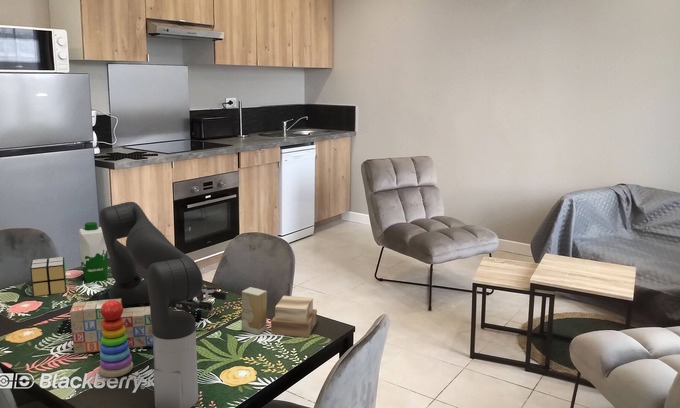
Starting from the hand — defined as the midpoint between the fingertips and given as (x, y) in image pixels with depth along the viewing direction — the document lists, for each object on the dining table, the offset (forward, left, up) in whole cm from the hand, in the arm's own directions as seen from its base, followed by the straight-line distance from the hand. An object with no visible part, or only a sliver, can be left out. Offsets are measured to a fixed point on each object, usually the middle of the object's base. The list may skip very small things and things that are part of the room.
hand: (219, 301), depth 170 cm
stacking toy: (-31, +15, -8) cm, 36 cm away
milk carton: (+29, +59, -8) cm, 66 cm away
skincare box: (-1, -11, -8) cm, 14 cm away
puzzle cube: (+15, +67, -8) cm, 69 cm away
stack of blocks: (-18, +22, -8) cm, 30 cm away
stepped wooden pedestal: (+3, -22, -7) cm, 24 cm away
